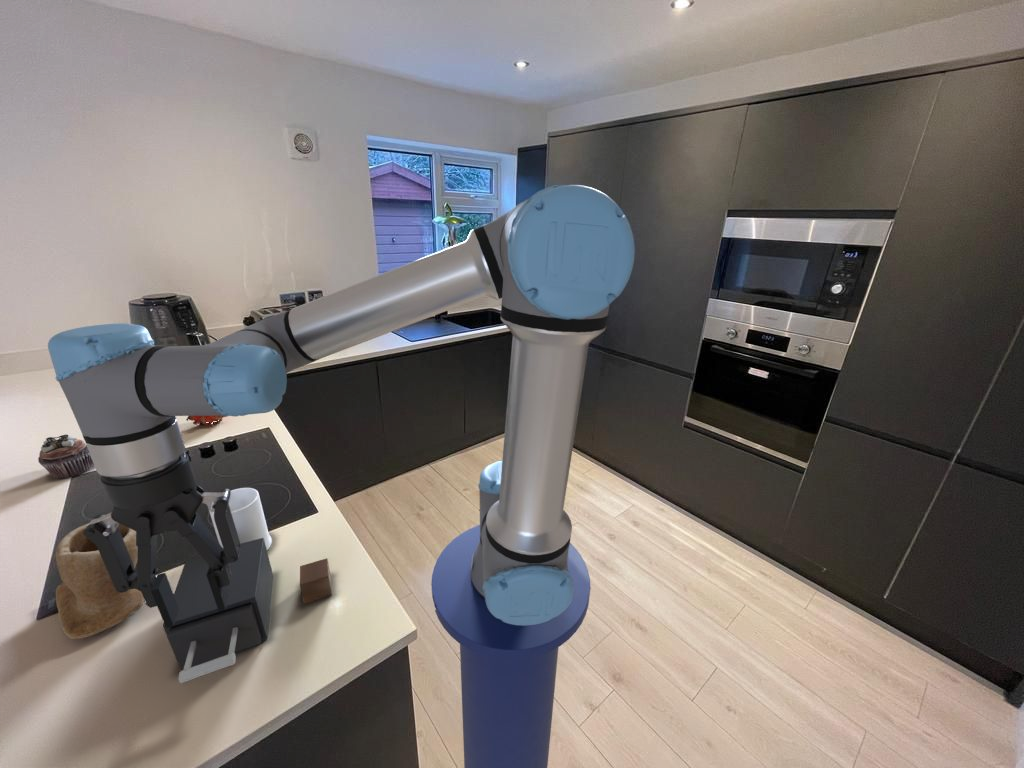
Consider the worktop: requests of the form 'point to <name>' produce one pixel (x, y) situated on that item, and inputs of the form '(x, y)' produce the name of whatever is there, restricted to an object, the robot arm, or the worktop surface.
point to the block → (315, 580)
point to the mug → (247, 516)
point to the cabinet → (245, 587)
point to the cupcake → (65, 457)
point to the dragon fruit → (204, 419)
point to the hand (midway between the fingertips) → (198, 610)
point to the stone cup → (91, 586)
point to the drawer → (213, 640)
